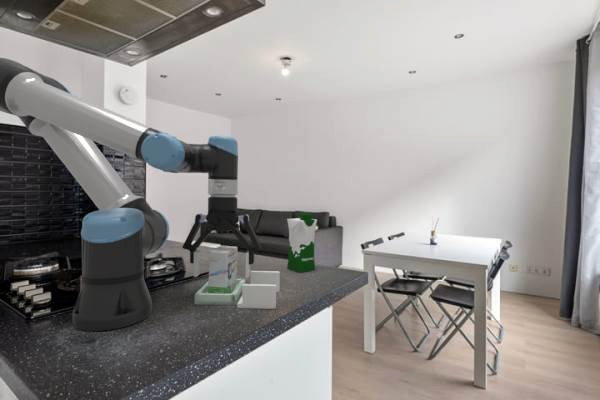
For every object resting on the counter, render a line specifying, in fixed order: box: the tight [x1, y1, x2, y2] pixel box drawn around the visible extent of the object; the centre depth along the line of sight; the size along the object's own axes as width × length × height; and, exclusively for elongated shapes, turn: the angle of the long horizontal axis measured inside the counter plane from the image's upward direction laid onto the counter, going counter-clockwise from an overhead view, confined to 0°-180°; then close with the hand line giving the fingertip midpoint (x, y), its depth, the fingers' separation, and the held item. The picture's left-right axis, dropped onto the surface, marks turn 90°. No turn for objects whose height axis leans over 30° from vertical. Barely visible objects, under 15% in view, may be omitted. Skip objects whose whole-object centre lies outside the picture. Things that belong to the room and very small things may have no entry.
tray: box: [194, 278, 246, 306], centre depth 85 cm, size 10×14×2 cm
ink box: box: [207, 245, 238, 294], centre depth 85 cm, size 9×5×12 cm, turn 173°
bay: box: [236, 270, 281, 310], centre depth 83 cm, size 9×13×6 cm
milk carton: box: [286, 212, 318, 274], centre depth 114 cm, size 9×9×20 cm
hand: (222, 276), depth 85 cm, fingers open, 13 cm apart
